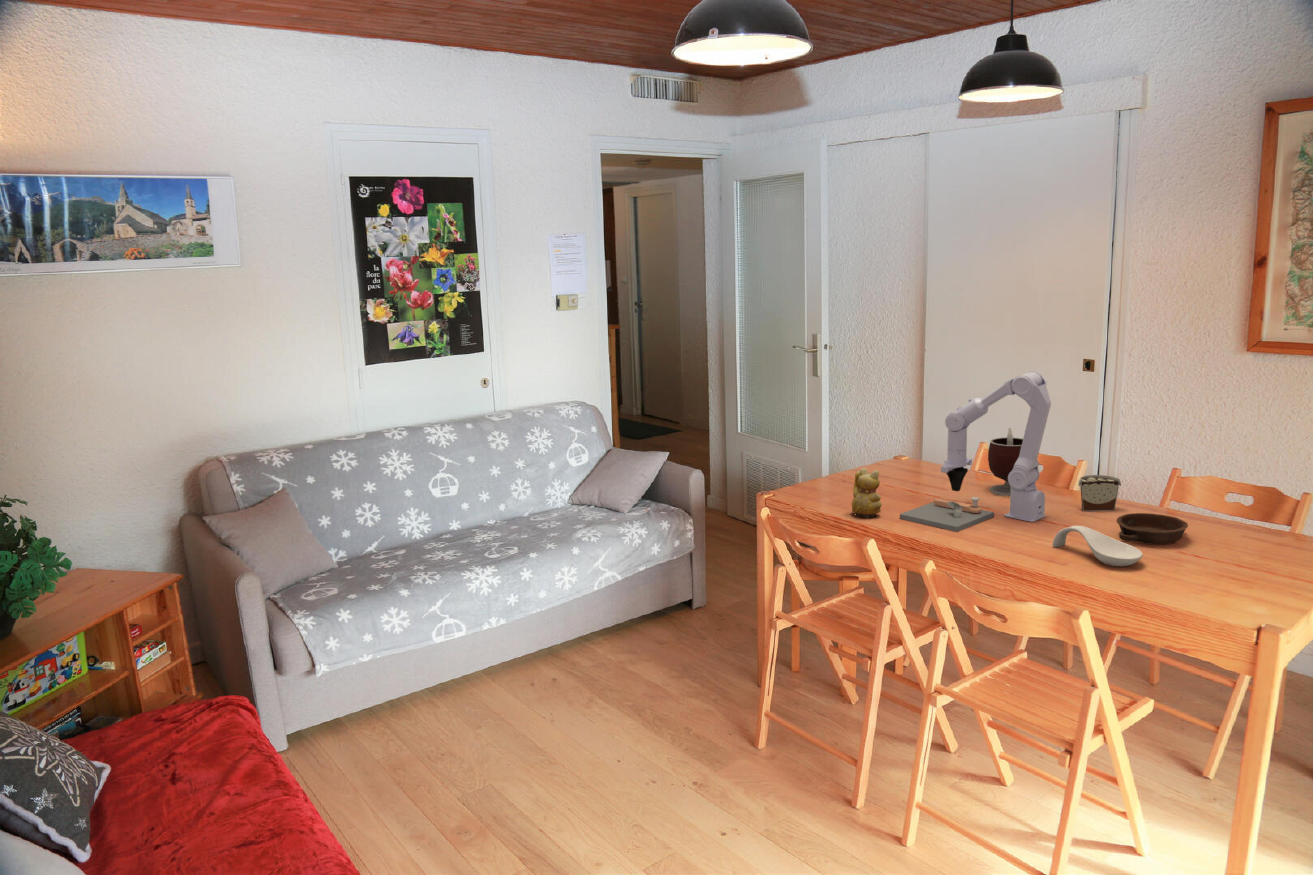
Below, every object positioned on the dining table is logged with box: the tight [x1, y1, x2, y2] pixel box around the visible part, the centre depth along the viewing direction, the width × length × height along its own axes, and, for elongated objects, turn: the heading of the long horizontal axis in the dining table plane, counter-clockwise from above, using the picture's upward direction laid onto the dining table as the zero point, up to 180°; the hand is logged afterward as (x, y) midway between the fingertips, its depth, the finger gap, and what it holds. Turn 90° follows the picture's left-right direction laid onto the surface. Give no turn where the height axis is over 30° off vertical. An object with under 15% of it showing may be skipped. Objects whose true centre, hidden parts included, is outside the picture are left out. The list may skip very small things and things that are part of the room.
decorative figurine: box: [851, 467, 883, 519], centre depth 293 cm, size 10×8×15 cm
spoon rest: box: [1052, 525, 1143, 567], centre depth 248 cm, size 24×12×7 cm, turn 31°
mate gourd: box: [987, 427, 1023, 497], centre depth 313 cm, size 16×14×20 cm
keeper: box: [947, 502, 962, 518], centre depth 285 cm, size 2×5×4 cm, turn 10°
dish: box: [1116, 512, 1189, 545], centre depth 261 cm, size 18×22×5 cm
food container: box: [1077, 474, 1122, 512], centre depth 290 cm, size 12×6×10 cm, turn 84°
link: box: [933, 496, 982, 513], centre depth 291 cm, size 15×4×4 cm, turn 40°
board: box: [899, 501, 995, 532], centre depth 288 cm, size 20×20×2 cm
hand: (955, 490), depth 299 cm, fingers closed
